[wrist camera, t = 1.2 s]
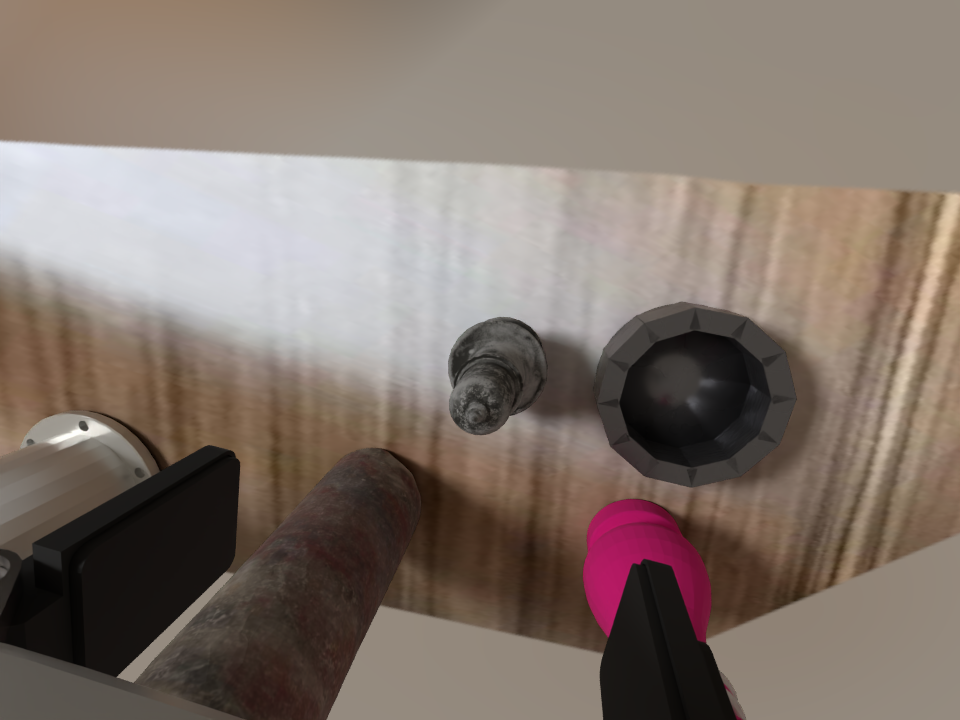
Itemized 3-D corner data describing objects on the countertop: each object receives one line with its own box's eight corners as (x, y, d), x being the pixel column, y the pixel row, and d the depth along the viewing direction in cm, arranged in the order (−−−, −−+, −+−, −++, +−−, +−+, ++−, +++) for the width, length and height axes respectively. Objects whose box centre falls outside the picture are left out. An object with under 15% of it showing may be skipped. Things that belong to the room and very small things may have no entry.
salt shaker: (560, 383, 31) (564, 461, 20) (478, 410, 32) (436, 499, 21) (529, 299, 30) (513, 329, 19) (446, 330, 32) (383, 377, 20)
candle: (449, 500, 34) (314, 820, 15) (384, 557, 36) (191, 905, 17) (373, 426, 34) (134, 659, 15) (311, 488, 36) (30, 765, 17)
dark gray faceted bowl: (620, 475, 32) (627, 502, 29) (575, 332, 30) (577, 343, 27) (782, 436, 30) (811, 460, 26) (743, 280, 28) (769, 284, 25)
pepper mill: (588, 482, 32) (637, 825, 13) (698, 501, 32) (923, 896, 12) (572, 573, 34) (595, 992, 15) (676, 593, 33) (842, 1066, 14)
